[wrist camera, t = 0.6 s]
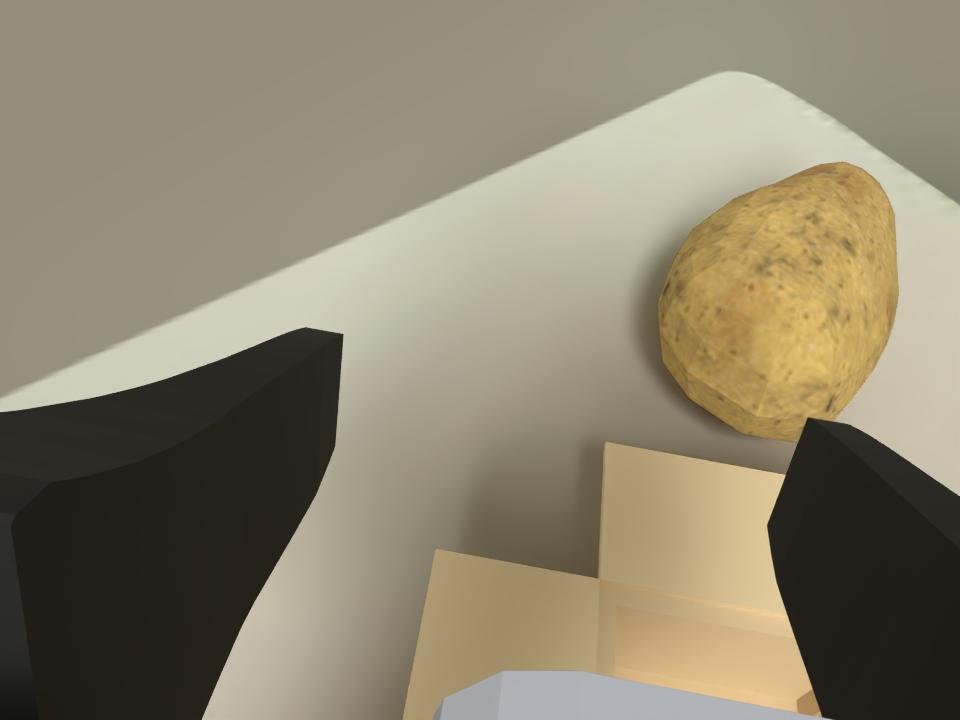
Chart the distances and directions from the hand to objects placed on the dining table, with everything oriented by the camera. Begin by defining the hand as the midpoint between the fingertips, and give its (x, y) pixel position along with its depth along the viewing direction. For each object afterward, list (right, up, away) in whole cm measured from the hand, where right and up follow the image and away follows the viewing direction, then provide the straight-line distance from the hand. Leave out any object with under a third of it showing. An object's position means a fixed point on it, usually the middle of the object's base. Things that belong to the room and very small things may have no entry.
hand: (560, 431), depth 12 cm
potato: (+12, +1, +25) cm, 28 cm away
